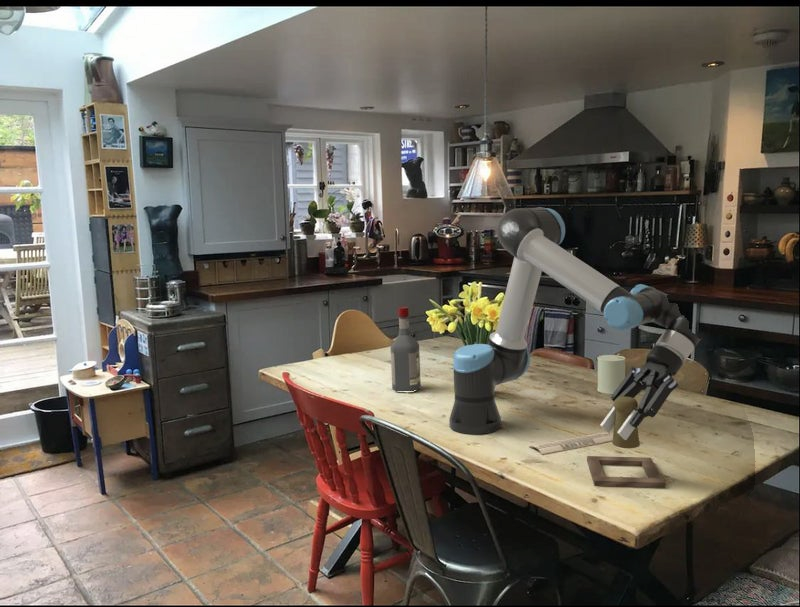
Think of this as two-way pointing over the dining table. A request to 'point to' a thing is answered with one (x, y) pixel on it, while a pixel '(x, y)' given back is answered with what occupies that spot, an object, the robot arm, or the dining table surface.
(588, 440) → the newspaper
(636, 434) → the olive pawn
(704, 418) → the dining table surface
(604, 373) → the can
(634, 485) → the cutout board
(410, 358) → the liquor
